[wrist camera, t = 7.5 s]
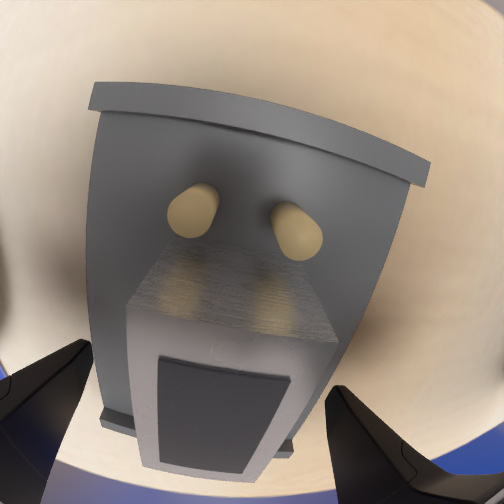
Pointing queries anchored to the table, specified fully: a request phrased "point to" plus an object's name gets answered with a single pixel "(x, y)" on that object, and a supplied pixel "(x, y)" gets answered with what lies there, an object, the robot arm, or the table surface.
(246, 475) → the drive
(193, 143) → the tray
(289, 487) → the table surface
